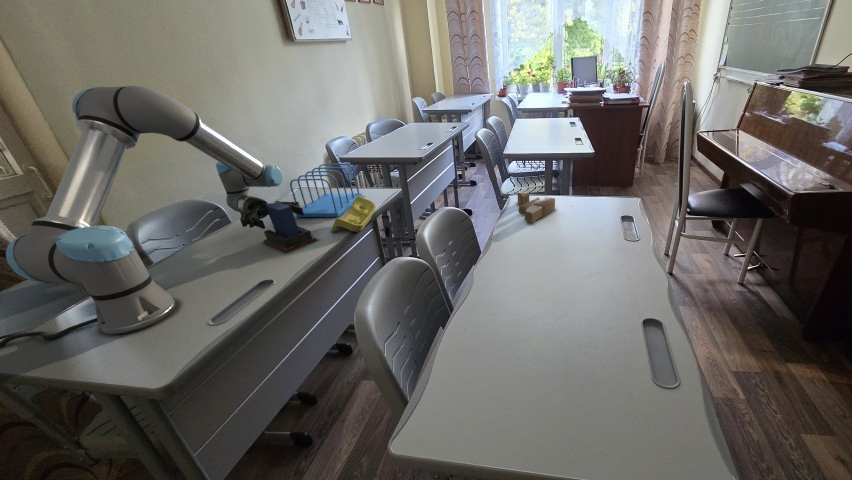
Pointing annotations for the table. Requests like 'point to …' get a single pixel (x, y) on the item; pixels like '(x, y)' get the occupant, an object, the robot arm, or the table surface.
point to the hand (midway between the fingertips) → (283, 218)
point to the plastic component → (356, 215)
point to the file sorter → (327, 195)
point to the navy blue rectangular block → (282, 219)
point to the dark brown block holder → (288, 239)
